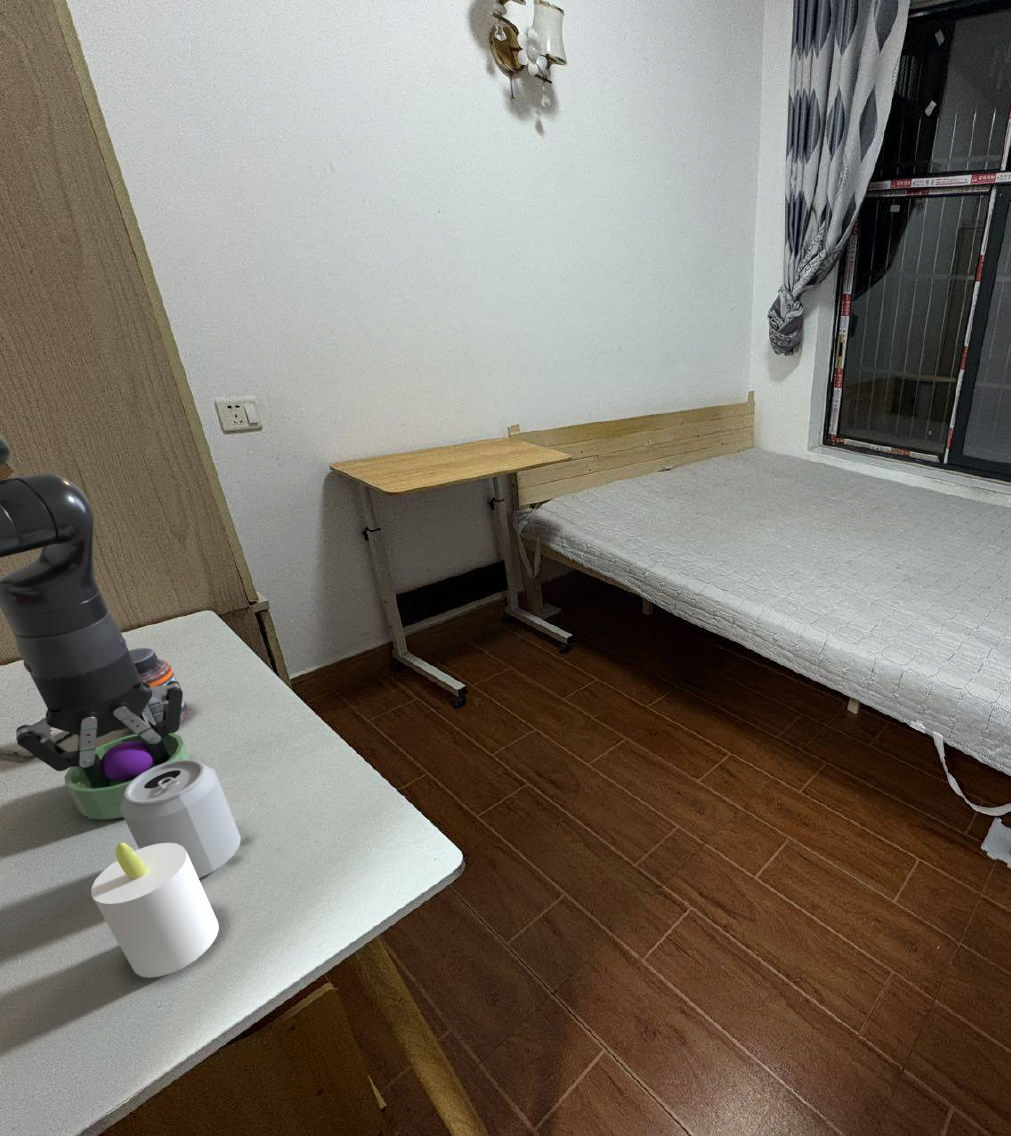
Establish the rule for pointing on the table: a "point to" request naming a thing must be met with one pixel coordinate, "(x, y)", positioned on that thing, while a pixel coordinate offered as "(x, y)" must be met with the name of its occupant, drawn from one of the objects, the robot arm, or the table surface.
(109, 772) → the ball
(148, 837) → the can
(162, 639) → the table surface
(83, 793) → the bowl
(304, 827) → the table surface
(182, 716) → the supplement bottle
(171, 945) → the candle
